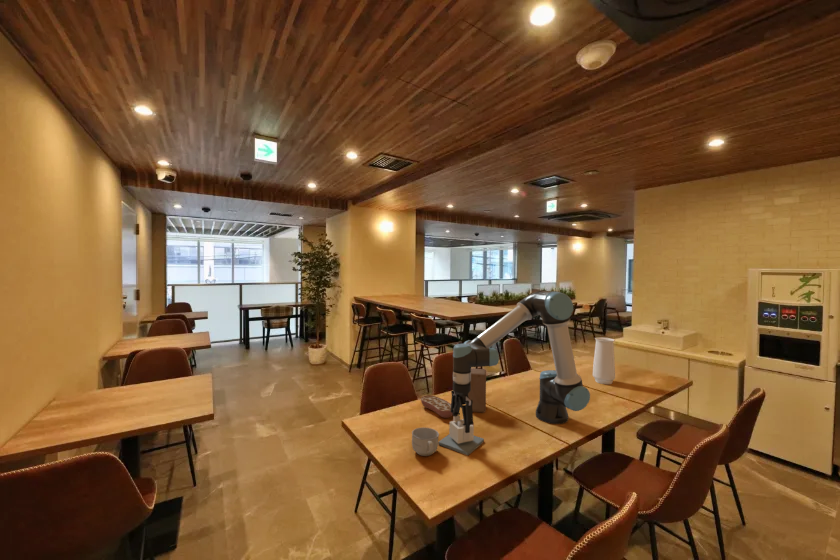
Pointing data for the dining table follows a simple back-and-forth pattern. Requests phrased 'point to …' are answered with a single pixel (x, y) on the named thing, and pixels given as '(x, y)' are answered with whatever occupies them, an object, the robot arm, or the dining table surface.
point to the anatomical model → (437, 405)
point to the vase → (604, 361)
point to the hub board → (461, 447)
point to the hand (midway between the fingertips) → (461, 435)
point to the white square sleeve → (459, 432)
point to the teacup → (424, 441)
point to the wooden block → (478, 390)
